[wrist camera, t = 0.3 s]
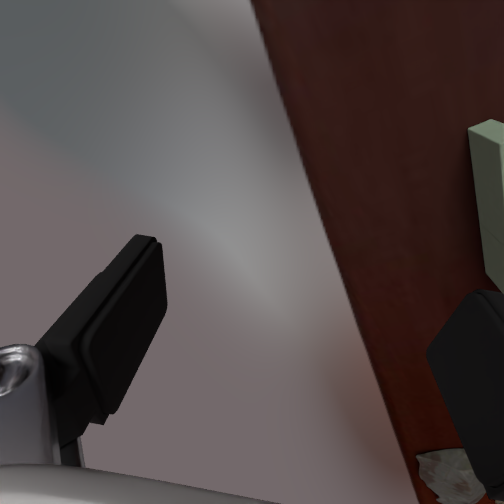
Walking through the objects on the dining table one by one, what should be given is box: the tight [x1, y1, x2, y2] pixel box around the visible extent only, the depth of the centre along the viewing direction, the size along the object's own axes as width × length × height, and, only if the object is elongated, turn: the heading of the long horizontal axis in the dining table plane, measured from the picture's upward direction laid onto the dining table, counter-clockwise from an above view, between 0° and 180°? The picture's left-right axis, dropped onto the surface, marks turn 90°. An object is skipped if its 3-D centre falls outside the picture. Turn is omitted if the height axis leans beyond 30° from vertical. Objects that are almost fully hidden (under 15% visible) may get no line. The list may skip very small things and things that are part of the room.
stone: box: [416, 448, 486, 504], centre depth 42 cm, size 19×3×10 cm
